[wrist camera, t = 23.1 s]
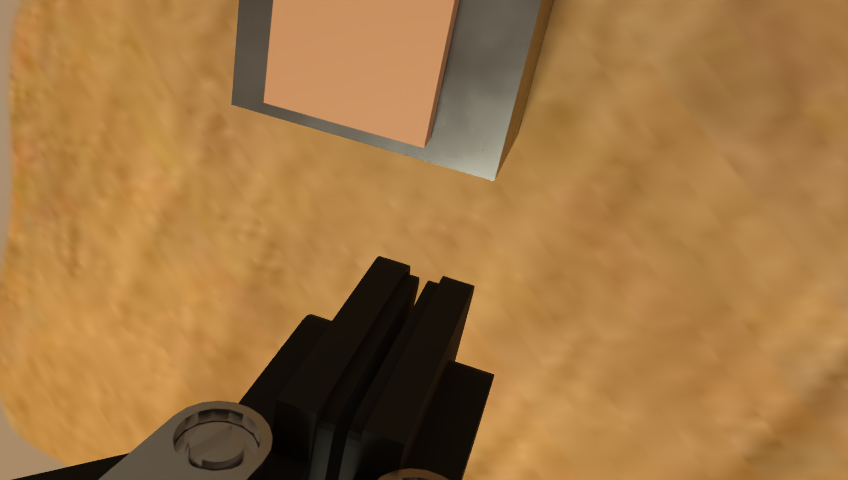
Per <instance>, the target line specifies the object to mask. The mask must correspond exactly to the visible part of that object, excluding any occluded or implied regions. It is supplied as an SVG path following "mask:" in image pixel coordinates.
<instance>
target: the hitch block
mask: <svg viewBox="0 0 848 480" xmlns="http://www.w3.org/2000/svg"><path fill="white" fill-rule="evenodd" d="M553 2H554V0H459V5H458V10H457V14H456V19H455V24H454V29H453V33H452V38H451V43H450V47H449V52H448V57H447V62H446V66H445V71H444V76H443V81H442V85H441V90H440V95H439V100H438V104H437V109H436V114H435V119H434V123H433V128H432V133H431V138H430V141H429V142H428V143H427V145H426V146H425V147H424V148H422V147H418V146H414V145H411V144H407V143H404V142H400V141H397V140H393V139H390V138H386V137H383V136H379V135H376V134H372V133H369V132H365V131H362V130H358V129H354V128H351V127H347V126H344V125H340V124H337V123H333V122H330V121H326V120H323V119H319V118H316V117H312V116H309V115H305V114H302V113H298V112H295V111H291V110H287V109H284V108H280V107H277V106H273V105H270V104H266V103H264V93H265V82H266V72H267V61H268V50H269V40H270V29H271V19H272V8H273V0H239V10H238V23H237V37H236V50H235V64H234V77H233V91H232V104H231V105H235V106H238V107H242V108H245V109H248V110H252V111H255V112H259V113H262V114H266V115H269V116H272V117H276V118H279V119H283V120H286V121H290V122H293V123H296V124H300V125H303V126H307V127H310V128H314V129H317V130H320V131H324V132H327V133H331V134H334V135H338V136H341V137H344V138H348V139H351V140H355V141H358V142H362V143H365V144H368V145H372V146H375V147H379V148H382V149H386V150H389V151H392V152H396V153H399V154H403V155H406V156H410V157H413V158H416V159H420V160H423V161H427V162H430V163H433V164H437V165H440V166H444V167H447V168H451V169H454V170H457V171H461V172H464V173H468V174H471V175H475V176H478V177H481V178H485V179H488V180H492V181H495V179H496V177H497V175H498V173H499V171H500V169H501V167H502V165H503V163H504V161H505V159H506V157H507V155H508V153H509V151H510V149H511V147H512V146H513V144H514V142H515V140H516V138H517V135H518V131H519V128H520V124H521V120H522V117H523V113H524V109H525V106H526V102H527V98H528V94H529V91H530V87H531V83H532V80H533V76H534V72H535V68H536V65H537V61H538V57H539V54H540V50H541V46H542V42H543V39H544V35H545V31H546V28H547V24H548V20H549V16H550V13H551V9H552V5H553Z"/></svg>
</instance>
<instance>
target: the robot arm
mask: <svg viewBox="0 0 848 480" xmlns="http://www.w3.org/2000/svg"><path fill="white" fill-rule="evenodd" d="M418 286H419V277H416V276H413V275H410V266H409V265H406V264H403V263H400V262H397V261H393V260H390V259H387V258H384V257H381V256H378V257H377V258H376V260H375V261H374V262H373V264H372V265H371V267H370V268H369V270H368V271H367V272H366V274H365V275H364V277H363V278H362V279H361V281H360V282H359V284H358V285H357V286H356V288H355V289H354V291H353V292H352V294H351V295H350V296H349V298H348V299H347V301H346V302H345V303H344V305H343V306H342V308H341V309H340V311H339V312H338V313H337V315H336V316H335V318H334V319H333V320H332V321H330V320H327V319H324V318H321V317H318V316H315V315H312V314H310V315H307V316H306V317H305V318H304V319H303V320H302V322H301V323H300V324H299V325H298V327H297V328H296V329H295V331H294V332H293V333H292V335H291V336H290V337H289V338H288V340H287V341H286V342H285V344H284V345H283V346H282V347H281V349H280V350H279V351H278V353H277V354H276V355H275V357H274V358H273V359H272V360H271V362H270V363H269V364H268V366H267V367H266V368H265V370H264V371H263V372H262V373H261V375H260V376H259V377H258V379H257V380H256V381H255V382H254V384H253V385H252V386H251V388H250V389H249V390H248V392H247V393H246V394H245V395H244V397H243V398H242V399H241V401H240V402H239V403H235V402H225V401H211V402H202V403H199V404H196V405H193V406H190V407H187V408H185V409H184V410H182V411H180V412H179V413H177V414H176V415H174V416H173V417H172V418H170V419H169V420H168V421H167V422H166V423H165V424H163V425H162V426H161V427H160V428H159V429H157V430H156V431H155V432H154V433H153V434H152V435H150V436H149V437H148V438H147V439H146V440H144V441H143V442H142V443H141V444H140V445H139V446H137V447H136V448H135V449H134V450H133V451H131V452H130V453H128V454H123V455H119V456H115V457H110V458H106V459H101V460H97V461H92V462H88V463H84V464H79V465H75V466H70V467H66V468H62V469H58V470H53V471H49V472H44V473H40V474H35V475H31V476H26V477H22V478H17V479H13V480H462V479H463V475H464V472H465V469H466V466H467V463H468V460H469V456H470V453H471V450H472V447H473V444H474V440H475V437H476V434H477V431H478V427H479V424H480V421H481V418H482V414H483V411H484V408H485V405H486V401H487V398H488V395H489V391H490V388H491V385H492V381H493V378H494V374H491V373H488V372H485V371H482V370H479V369H476V368H473V367H470V366H467V365H464V364H461V363H458V362H455V359H456V355H457V352H458V348H459V344H460V340H461V337H462V333H463V329H464V326H465V322H466V318H467V314H468V311H469V307H470V303H471V299H472V296H473V292H474V286H473V285H470V284H467V283H464V282H460V281H457V280H454V279H451V278H448V277H445V276H443V277H442V279H441V280H440V282H439V284H438V283H435V282H432V281H428V282H427V283H426V285H425V287H424V289H423V291H422V293H421V294H420V296H419V298H418V300H417V302H416V304H415V305H414V303H415V299H416V295H417V290H418Z"/></svg>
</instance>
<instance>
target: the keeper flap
mask: <svg viewBox="0 0 848 480" xmlns="http://www.w3.org/2000/svg"><path fill="white" fill-rule="evenodd" d="M458 5H459V0H273V8H272V19H271V29H270V40H269V50H268V61H267V72H266V82H265V93H264V103H266V104H270V105H273V106H277V107H280V108H284V109H287V110H291V111H295V112H298V113H302V114H305V115H309V116H312V117H316V118H319V119H323V120H326V121H330V122H333V123H337V124H340V125H344V126H347V127H351V128H354V129H358V130H362V131H365V132H369V133H372V134H376V135H379V136H383V137H386V138H390V139H393V140H397V141H400V142H404V143H407V144H411V145H414V146H418V147H422V148H424V147H425V146H426V145H427V143H428V142H429V141H430V138H431V133H432V128H433V123H434V119H435V114H436V109H437V104H438V100H439V95H440V90H441V85H442V81H443V76H444V71H445V66H446V62H447V57H448V52H449V47H450V43H451V38H452V33H453V29H454V24H455V19H456V14H457V10H458Z"/></svg>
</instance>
